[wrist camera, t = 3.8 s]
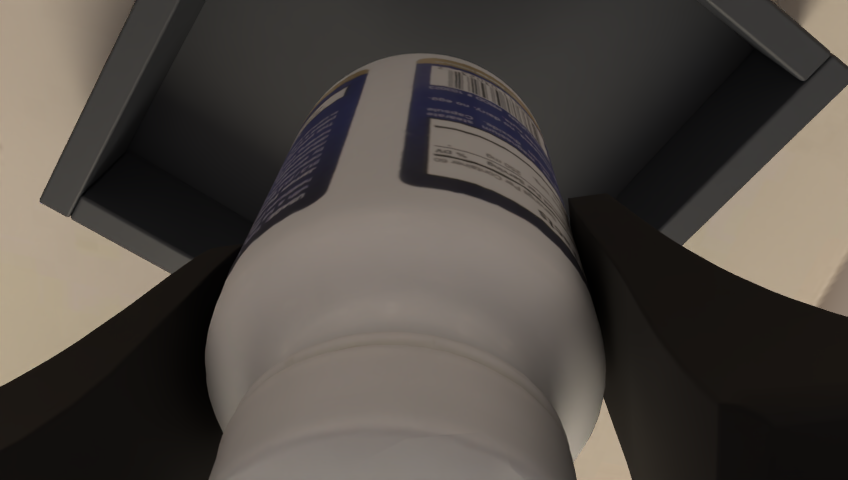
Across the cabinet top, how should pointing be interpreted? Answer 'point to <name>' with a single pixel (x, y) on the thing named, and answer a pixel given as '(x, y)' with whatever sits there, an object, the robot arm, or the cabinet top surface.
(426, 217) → the pill bottle
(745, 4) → the bin
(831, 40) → the cabinet top surface
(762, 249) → the cabinet top surface
